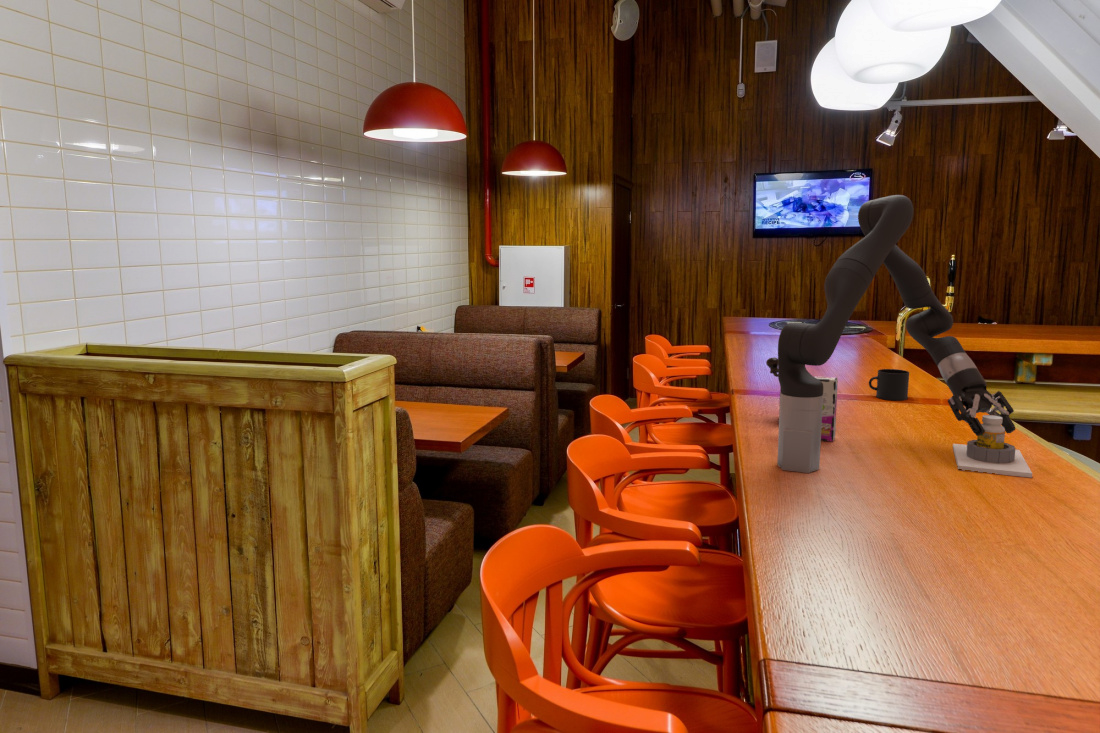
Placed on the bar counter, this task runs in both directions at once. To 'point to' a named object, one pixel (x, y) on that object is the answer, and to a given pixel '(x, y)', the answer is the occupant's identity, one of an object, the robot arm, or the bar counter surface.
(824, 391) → the candy bar box
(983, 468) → the socket plate
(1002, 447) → the supplement bottle
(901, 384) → the mug
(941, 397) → the bar counter surface
